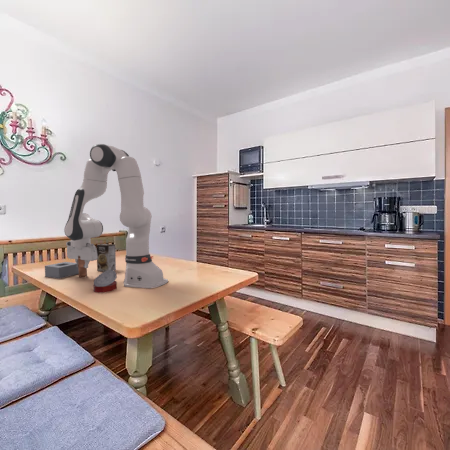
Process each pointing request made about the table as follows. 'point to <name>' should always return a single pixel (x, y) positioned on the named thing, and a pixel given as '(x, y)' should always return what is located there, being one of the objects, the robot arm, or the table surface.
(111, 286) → the canned food
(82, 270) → the terracotta peg
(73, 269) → the socket block
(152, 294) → the table surface
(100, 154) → the robot arm
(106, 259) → the coffee box
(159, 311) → the table surface
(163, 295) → the table surface
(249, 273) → the table surface
